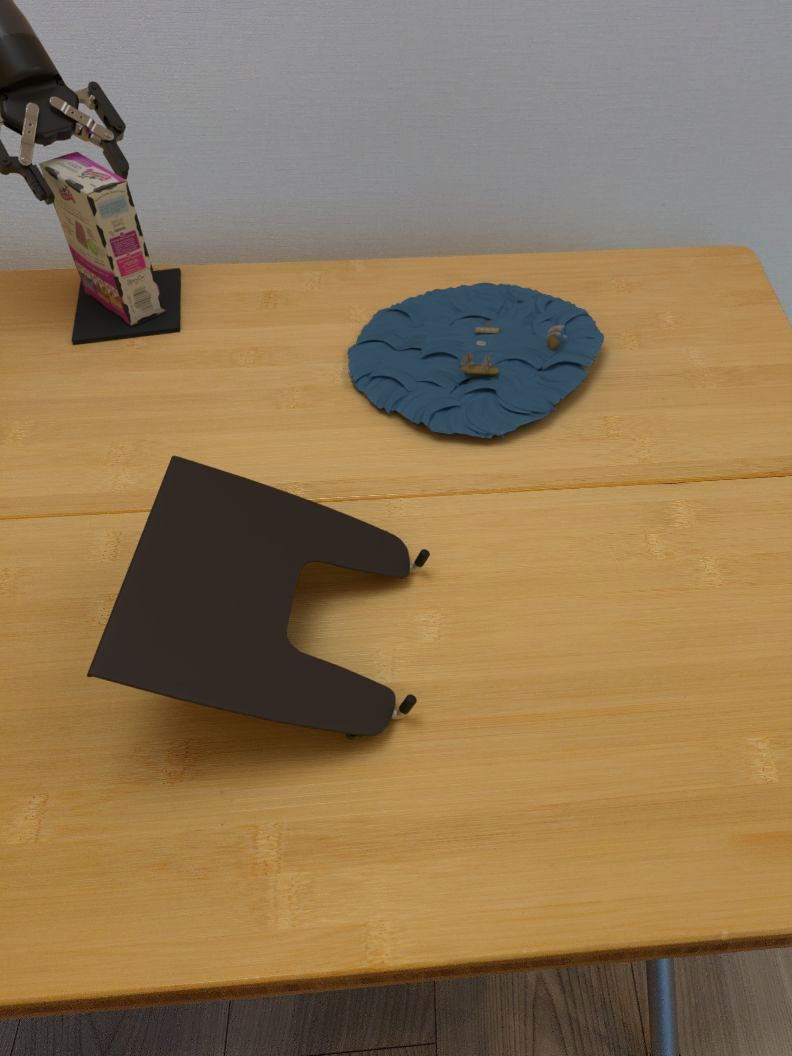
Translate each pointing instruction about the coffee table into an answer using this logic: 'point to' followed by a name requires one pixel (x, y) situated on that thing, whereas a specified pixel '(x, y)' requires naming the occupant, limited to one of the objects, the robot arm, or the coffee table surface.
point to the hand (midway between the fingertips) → (88, 189)
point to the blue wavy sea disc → (474, 357)
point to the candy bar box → (104, 236)
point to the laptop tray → (242, 603)
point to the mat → (105, 325)
